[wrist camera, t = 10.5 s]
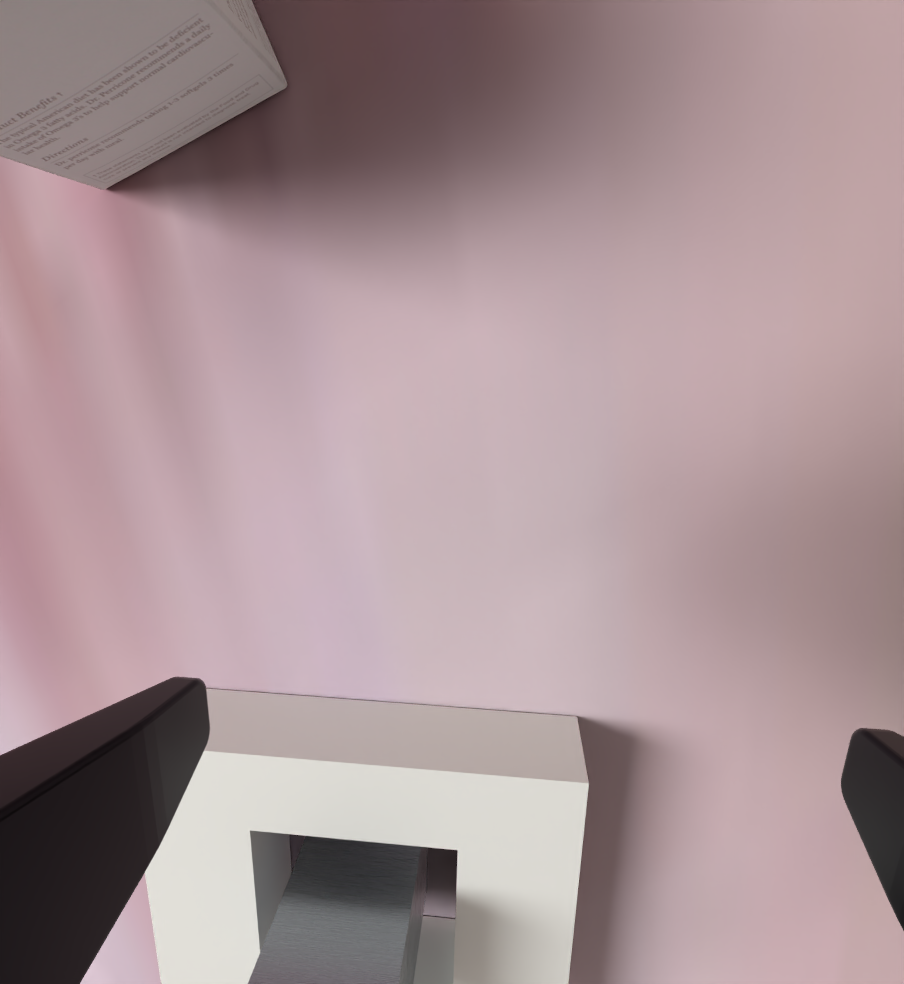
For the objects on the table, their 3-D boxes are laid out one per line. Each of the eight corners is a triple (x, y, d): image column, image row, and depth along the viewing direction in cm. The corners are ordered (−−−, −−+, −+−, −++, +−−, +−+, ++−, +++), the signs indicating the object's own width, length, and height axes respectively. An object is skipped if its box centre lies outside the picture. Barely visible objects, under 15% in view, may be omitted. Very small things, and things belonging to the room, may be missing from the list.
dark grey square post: (427, 804, 25) (392, 1019, 17) (426, 889, 26) (393, 1125, 18) (322, 795, 25) (240, 1001, 17) (325, 879, 26) (250, 1106, 19)
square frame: (577, 716, 23) (589, 783, 20) (552, 985, 27) (558, 1079, 23) (179, 686, 24) (126, 744, 21) (208, 946, 28) (167, 1031, 25)
